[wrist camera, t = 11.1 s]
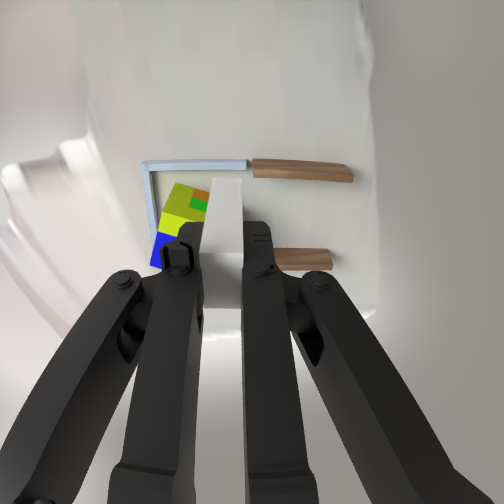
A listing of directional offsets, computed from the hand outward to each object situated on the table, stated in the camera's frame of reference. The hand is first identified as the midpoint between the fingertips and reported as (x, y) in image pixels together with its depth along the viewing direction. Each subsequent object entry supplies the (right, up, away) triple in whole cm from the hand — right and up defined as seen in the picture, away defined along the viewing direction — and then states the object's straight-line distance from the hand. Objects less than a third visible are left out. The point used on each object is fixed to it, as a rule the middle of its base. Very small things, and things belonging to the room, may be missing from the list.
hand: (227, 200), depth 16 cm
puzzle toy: (-8, +4, +35) cm, 36 cm away
